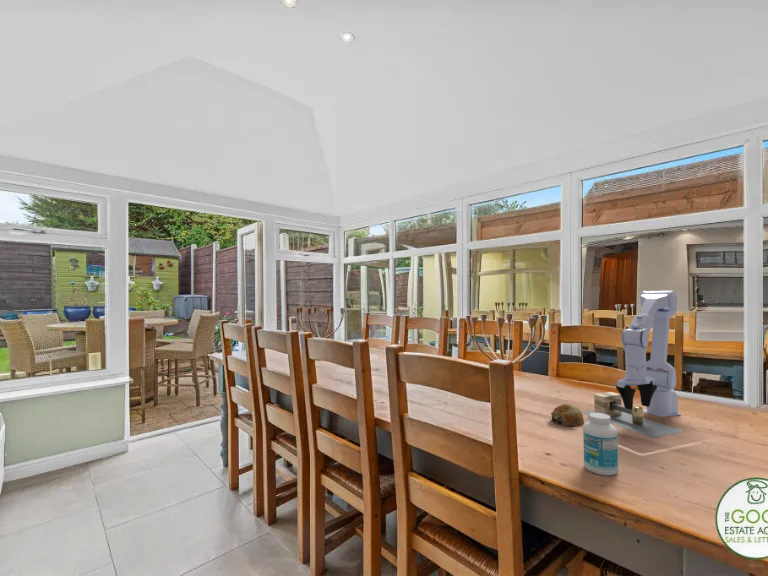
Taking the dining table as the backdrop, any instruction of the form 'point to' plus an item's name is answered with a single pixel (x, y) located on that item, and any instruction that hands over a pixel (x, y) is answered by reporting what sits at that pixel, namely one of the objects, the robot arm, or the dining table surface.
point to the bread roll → (567, 415)
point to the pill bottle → (600, 445)
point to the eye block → (607, 403)
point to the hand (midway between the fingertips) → (637, 407)
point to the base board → (641, 425)
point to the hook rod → (630, 412)
